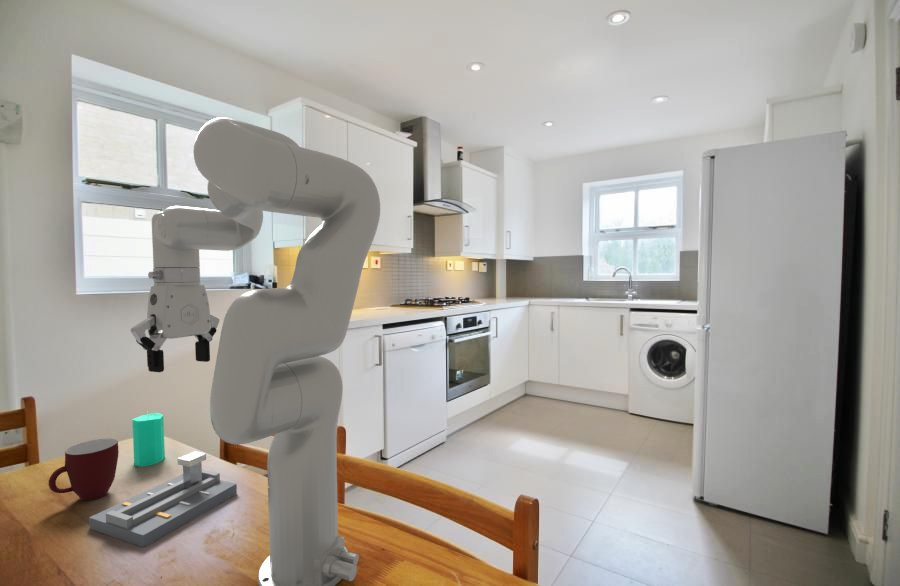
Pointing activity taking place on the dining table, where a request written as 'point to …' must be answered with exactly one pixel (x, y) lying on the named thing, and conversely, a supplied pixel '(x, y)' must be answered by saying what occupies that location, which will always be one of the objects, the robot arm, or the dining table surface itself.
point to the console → (162, 509)
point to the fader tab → (192, 468)
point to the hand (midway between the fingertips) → (180, 366)
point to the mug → (89, 468)
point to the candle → (148, 439)
